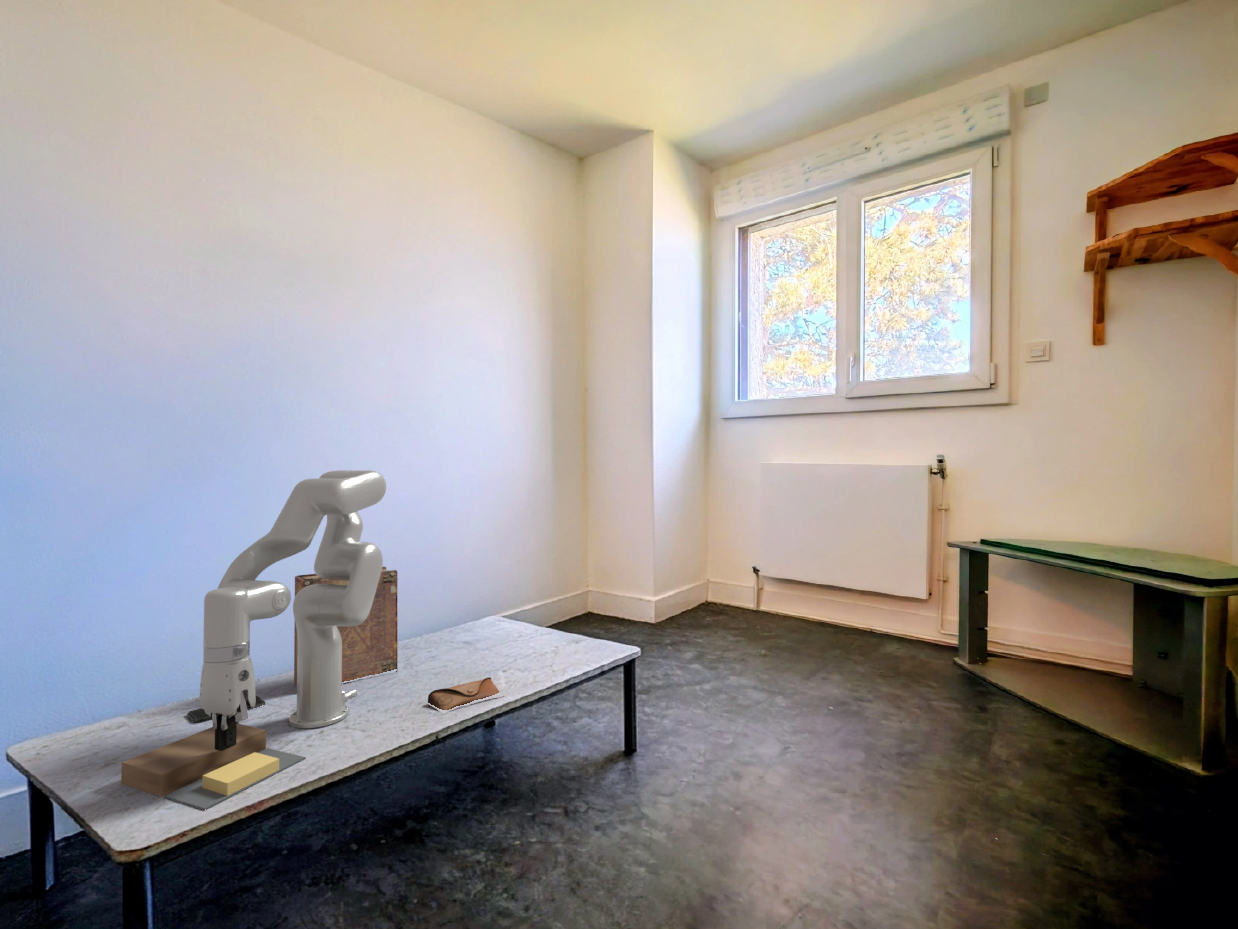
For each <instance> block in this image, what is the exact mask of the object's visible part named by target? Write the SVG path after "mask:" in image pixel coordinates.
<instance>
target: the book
mask: <svg viewBox="0 0 1238 929" xmlns="http://www.w3.org/2000/svg"><path fill="white" fill-rule="evenodd" d="M348 582H349V581H342V580H328V579H323V578H320V577H319V576H317V575H316V573H309V574H299V575H295V576H294V597H295V596H296V594H297V593H298V592H299V591H300V590H301V589H302V588H304V587H306V586H309V585H313V584H337V585H348ZM293 628H294V631H293V632H294V636H293V637H294V642H293V643H294V644H293V646H294V648H293V649H294V650H293V651H294V655H293V656H294V657H293V658H294V661H293V664H294V665H293V668H294V669H293V673H294V674H293V678H294V679H293V683H294V685H295V686H297V654H298V641H297V628H296V623H295V622H294V627H293ZM337 628H338V630H339V632H340V635H341V638H342V682H344V681H350V680H354V679H357V678H362V677H365V676H369V675H375V674H380V673H383V672H387V671H391V670H394V669H397V670H398V570H397V569H391V570H388V569H387V567H386V566H382V571H381V575H380V579H379V582H378V586H377V589H376V593H375V596H374V600H373V603H372V607H371V610H370V612H369V615H368V617H367V618H366V620H365V621H364V622H363V623H362V624H360V625H358V626H353V627H346V626H345V627H344V626H337Z"/></svg>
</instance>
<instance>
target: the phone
mask: <svg viewBox="0 0 1238 929" xmlns="http://www.w3.org/2000/svg"><path fill="white" fill-rule="evenodd" d="M262 705H265V706H266V701H265V700H264V699H262V698H261V697H259V696H258V695H256V703H255V707H254V708H256V709H258V708H257V707H259V708H261V707H260V706H262ZM251 709H252V710H254V709H253V708H251ZM247 710H248V711H250V709H247ZM186 713H187V714H186V715H187V719H189V720H190V721H191V722H192V724H196V725H197V724H201V723H206V722H209V721H212V718H211V716H209V715H208V714H206V713H205V710H204V709H202V708H201V707H200V708H197V709H193V710H190V711H188V712H186Z"/></svg>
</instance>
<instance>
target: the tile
mask: <svg viewBox="0 0 1238 929" xmlns="http://www.w3.org/2000/svg"><path fill="white" fill-rule="evenodd" d="M278 770H279V759H278V758H275V757H271V756H267V755H264V754H260V753H256V752H254V753H252V754H250V755H247V756H245V757H243V758H241V759H239V760H236V761H234V762H232V763H230V764H227V765H225V766H223V767H221V768H218V769H216V770H214V771H212V772H209V773H207V774H205V775H203V783H202V788H205V789H208V790H211V791H214V792H217V793H220V794H224V795H227V796H228V795H230V794H232V793H234V792H236V791H238V790H240V789H242V788H244V787H246V786H248V785H250V784H252V783H254V782H256V781H258V780H260V779H262V778H264V777H266V776H268V775H270V774H272V773H274V772H276V771H278Z"/></svg>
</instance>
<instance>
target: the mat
mask: <svg viewBox="0 0 1238 929" xmlns="http://www.w3.org/2000/svg"><path fill="white" fill-rule="evenodd" d="M258 753H260V754H264V755H267V756H271V757H275V758H278V759H279V770H278V771H276V772H274V773H272V774H270V775H268V776H266V777H264V778H262V779H260V780H258V781H256V782H254V783H252V784H250V785H248V786H246V787H244V788H242V789H240V790H238V791H236V792H234V793H232V794H230V795H228V796H227V795H224V794H220V793H217V792H214V791H211V790H208V789H205V788H202V783H203V778H201V779H199V780H197V781H195V782H193V783H191V784H188V785H186V786H184V787H182V788H180V789H178V790H175V791H173V792H171V793H169V794H167V795H165V796H163V798H165V799H168V800H172V801H174V802H178V803H180V804H184V805H187V806H189V807H193V808H196V807H197V809H199V810H202V809H204V810H203V811H206V810H205V809H207V810H209V809H211V808H212V806H213V807H215V806H216V805H219V804H220V803H222V802H224V801H226V800H228V799H230V798H232V797H234V796H236V795H238V794H239V793H242V792H245V791H247V790H248V789H250V788H251V787H254V786H255V785H257V784H260V783H261V782H264V781H266V780H268V779H269V778H272V777H273V776H276V773H277V774H279V773H281V772H283V771H284V769H285V770H287V769H289V768H290V767H292V766H294V765H297V764H298V763H300V762H301V760H302V761H304V760H306V759H307V758H306V756H302V755H298V754H294V753H289V752H286V751H281V750H277V749H273V748H269V747H266V749H264V750H262V751H260V752H258ZM288 767H289V768H288ZM249 787H250V788H249ZM214 805H215V806H214ZM210 807H211V808H210ZM208 808H209V809H208Z"/></svg>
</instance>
